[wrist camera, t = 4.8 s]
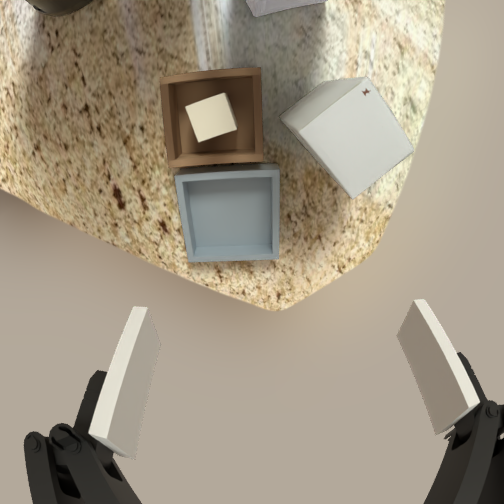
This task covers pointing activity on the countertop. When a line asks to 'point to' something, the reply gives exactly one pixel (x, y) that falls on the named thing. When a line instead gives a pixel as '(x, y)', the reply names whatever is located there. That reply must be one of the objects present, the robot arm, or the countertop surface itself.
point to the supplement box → (349, 132)
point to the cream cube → (212, 117)
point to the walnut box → (222, 146)
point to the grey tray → (230, 211)
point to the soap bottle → (276, 5)
